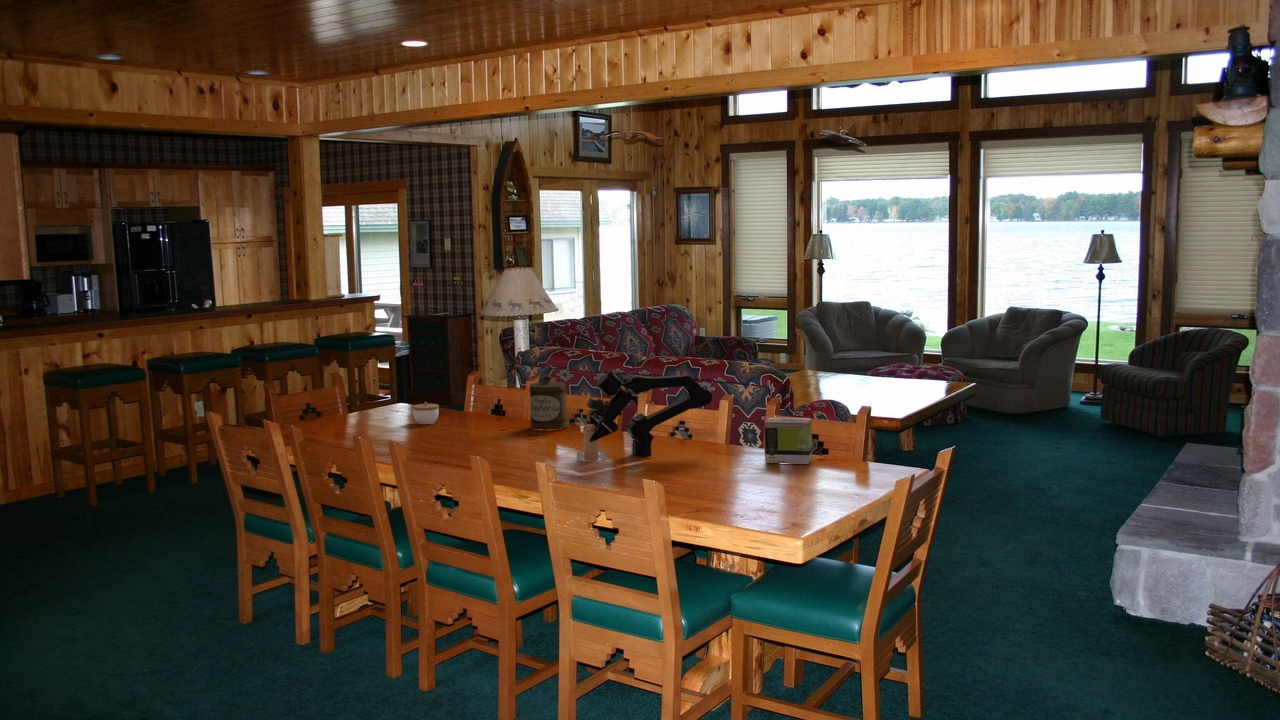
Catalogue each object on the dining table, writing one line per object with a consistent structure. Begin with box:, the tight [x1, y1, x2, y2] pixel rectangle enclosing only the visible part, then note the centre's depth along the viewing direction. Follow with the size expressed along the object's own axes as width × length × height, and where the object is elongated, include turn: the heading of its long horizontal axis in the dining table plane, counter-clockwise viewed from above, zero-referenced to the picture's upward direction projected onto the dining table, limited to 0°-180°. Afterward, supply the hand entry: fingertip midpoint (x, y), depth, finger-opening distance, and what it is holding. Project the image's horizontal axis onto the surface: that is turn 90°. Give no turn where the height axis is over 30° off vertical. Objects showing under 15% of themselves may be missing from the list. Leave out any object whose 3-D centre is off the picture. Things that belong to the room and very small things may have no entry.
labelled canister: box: [529, 374, 568, 430], centre depth 413 cm, size 15×15×22 cm
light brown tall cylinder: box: [583, 423, 600, 461], centre depth 350 cm, size 5×5×12 cm
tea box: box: [763, 416, 813, 465], centre depth 345 cm, size 15×10×15 cm
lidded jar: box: [412, 401, 440, 425], centre depth 428 cm, size 11×11×9 cm
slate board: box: [576, 451, 607, 463], centre depth 355 cm, size 16×10×1 cm, turn 3°
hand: (586, 438), depth 349 cm, fingers open, 9 cm apart
